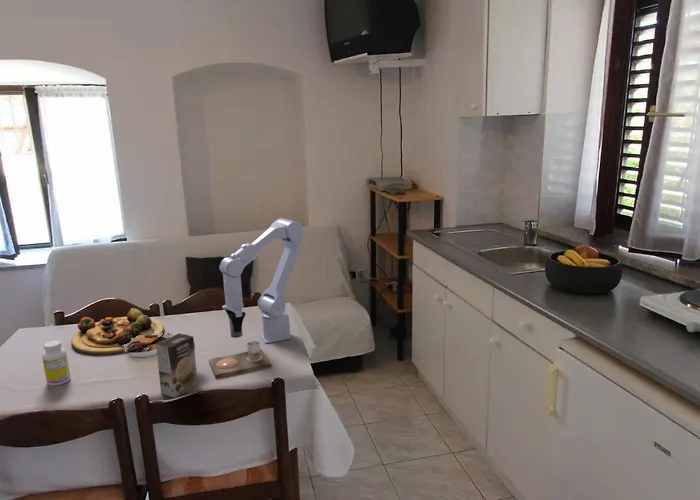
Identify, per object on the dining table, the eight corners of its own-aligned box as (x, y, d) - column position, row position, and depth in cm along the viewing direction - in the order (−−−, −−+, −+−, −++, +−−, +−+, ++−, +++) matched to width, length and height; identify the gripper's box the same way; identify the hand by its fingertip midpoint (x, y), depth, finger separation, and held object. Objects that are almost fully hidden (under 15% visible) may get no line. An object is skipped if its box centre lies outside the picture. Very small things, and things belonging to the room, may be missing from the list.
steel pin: (241, 332, 193) (239, 313, 191) (243, 336, 189) (242, 317, 188) (229, 334, 191) (228, 315, 190) (232, 338, 188) (230, 319, 186)
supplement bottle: (52, 376, 175) (46, 339, 172) (74, 375, 176) (68, 338, 172) (43, 387, 169) (36, 348, 165) (65, 385, 169) (58, 347, 166)
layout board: (261, 352, 189) (260, 335, 187) (271, 366, 178) (270, 348, 177) (208, 362, 182) (207, 344, 180) (215, 378, 171) (213, 359, 170)
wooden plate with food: (51, 348, 197) (47, 327, 195) (119, 316, 225) (116, 297, 223) (119, 364, 185) (116, 342, 183) (182, 328, 213) (180, 308, 211)
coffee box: (175, 398, 160) (169, 348, 156) (160, 393, 163) (154, 343, 159) (198, 384, 168) (193, 336, 164) (183, 380, 171) (178, 332, 167)
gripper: (217, 288, 191) (220, 324, 195) (225, 300, 178) (229, 339, 182) (237, 284, 194) (240, 320, 197) (247, 297, 181) (250, 335, 185)
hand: (236, 329), depth 190 cm, fingers closed on steel pin, 4 cm apart
